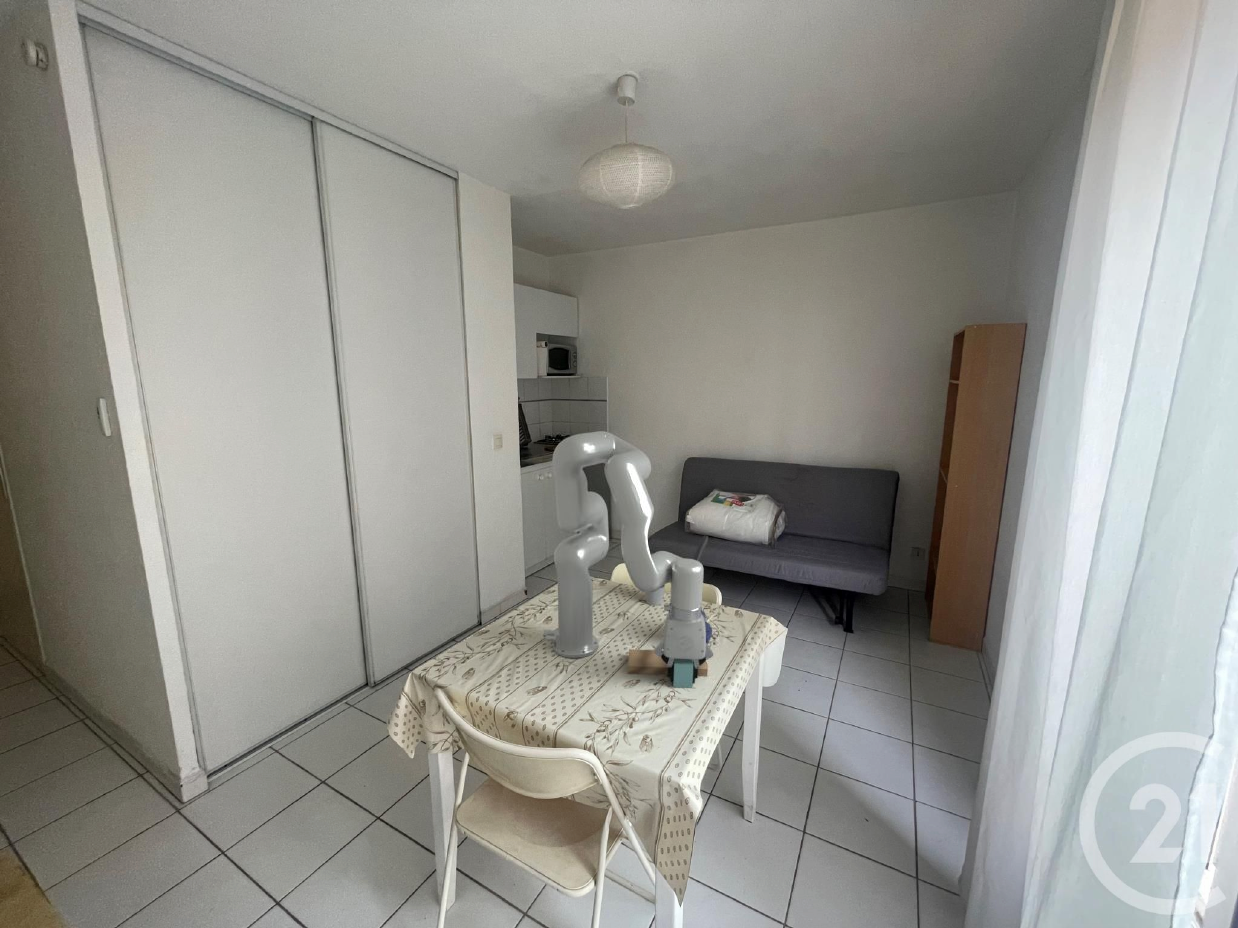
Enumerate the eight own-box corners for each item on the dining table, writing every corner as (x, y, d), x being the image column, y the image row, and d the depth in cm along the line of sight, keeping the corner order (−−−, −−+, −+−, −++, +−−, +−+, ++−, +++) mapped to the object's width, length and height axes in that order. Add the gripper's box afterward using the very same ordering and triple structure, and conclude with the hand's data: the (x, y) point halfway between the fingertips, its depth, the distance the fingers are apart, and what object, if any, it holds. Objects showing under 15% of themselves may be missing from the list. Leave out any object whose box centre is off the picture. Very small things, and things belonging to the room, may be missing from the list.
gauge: (673, 686, 120) (674, 664, 119) (671, 662, 131) (671, 641, 130) (692, 687, 120) (693, 664, 119) (688, 663, 131) (689, 642, 130)
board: (627, 673, 126) (628, 665, 126) (628, 656, 134) (629, 649, 133) (707, 676, 125) (707, 668, 125) (703, 658, 133) (703, 651, 133)
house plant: (656, 588, 178) (657, 544, 175) (685, 601, 167) (686, 555, 164) (626, 599, 169) (626, 553, 166) (654, 614, 158) (655, 565, 155)
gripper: (650, 616, 116) (648, 686, 119) (723, 619, 115) (718, 690, 118) (650, 602, 124) (648, 668, 127) (718, 605, 123) (714, 672, 126)
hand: (682, 678), depth 123 cm, fingers closed on gauge, 4 cm apart
